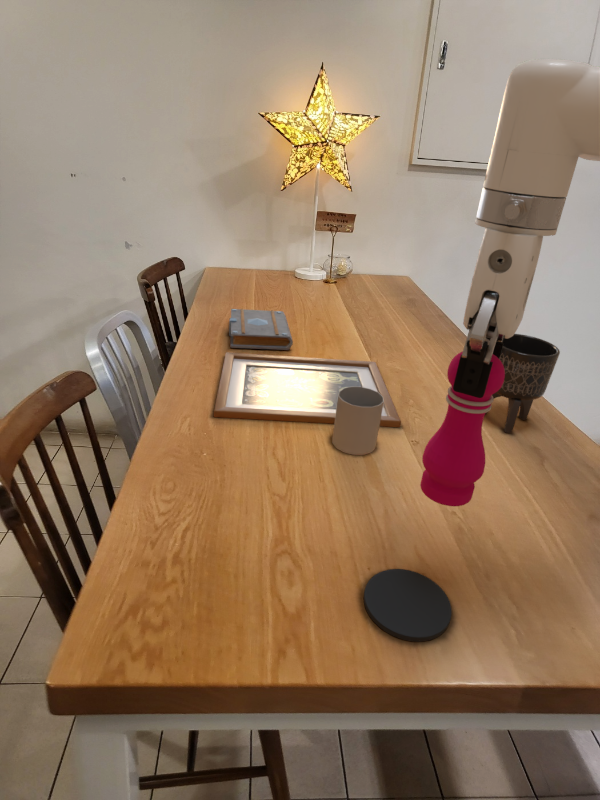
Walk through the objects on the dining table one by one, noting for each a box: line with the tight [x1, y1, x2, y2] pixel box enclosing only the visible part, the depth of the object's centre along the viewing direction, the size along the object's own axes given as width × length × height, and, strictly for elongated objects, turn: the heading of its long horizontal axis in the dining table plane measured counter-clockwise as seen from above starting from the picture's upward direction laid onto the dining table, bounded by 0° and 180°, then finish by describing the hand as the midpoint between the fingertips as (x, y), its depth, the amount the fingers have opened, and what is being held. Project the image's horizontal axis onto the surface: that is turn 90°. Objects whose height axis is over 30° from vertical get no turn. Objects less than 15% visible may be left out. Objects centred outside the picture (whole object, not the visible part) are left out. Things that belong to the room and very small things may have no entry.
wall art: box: [213, 351, 402, 428], centre depth 122 cm, size 31×2×38 cm
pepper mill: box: [419, 338, 505, 507], centre depth 62 cm, size 7×7×20 cm
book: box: [228, 308, 294, 351], centre depth 149 cm, size 21×16×5 cm
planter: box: [492, 333, 561, 434], centre depth 113 cm, size 13×13×18 cm
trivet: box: [363, 568, 453, 643], centre depth 68 cm, size 11×11×1 cm
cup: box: [331, 387, 384, 456], centre depth 101 cm, size 8×8×10 cm
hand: (474, 381), depth 60 cm, fingers closed on pepper mill, 6 cm apart
